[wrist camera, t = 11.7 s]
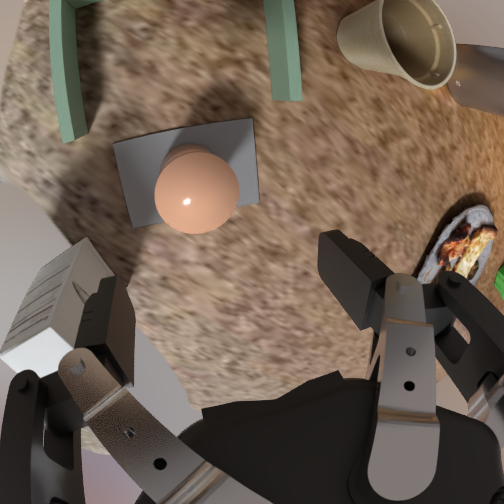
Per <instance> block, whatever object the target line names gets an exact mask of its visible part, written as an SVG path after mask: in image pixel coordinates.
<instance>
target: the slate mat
mask: <svg viewBox="0 0 504 504" xmlns="http://www.w3.org/2000/svg"><path fill="white" fill-rule="evenodd" d="M183 144H199V145H202V146H204V147H206V148H207V149H209V150H210V151H211V152H212V153H213V154H214V155H217V156H218V157H220V158H222V159H223V160H224V161H225V162H226V163H227V164H228V165H229V166H230V167H231V168H232V170H233V171H234V173H235V175H236V177H237V180H238V183H239V199H238V203H237V205H236V207H238V206H244V205H249V204H254V203H259V191H258V179H257V166H256V154H255V142H254V130H253V119H252V118H248V119H239V120H231V121H223V122H216V123H210V124H203V125H197V126H191V127H185V128H180V129H175V130H170V131H165V132H160V133H155V134H151V135H146V136H142V137H137V138H133V139H129V140H125V141H121V142H118V143H114V144H113V148H114V153H115V158H116V162H117V167H118V171H119V176H120V180H121V184H122V188H123V192H124V197H125V200H126V204H127V208H128V212H129V216H130V219H131V223H132V227H133V229H134V228H139V227H143V226H147V225H152V224H156V223H161V222H165V221H164V220H163V219H162V217H161V216H160V214H159V212H158V210H157V208H156V204H155V185H156V182H157V179H158V176H159V174H160V167H161V164H162V161H163V159H164V158H165V156H166V155H167V154H168V153H169V152H170V151H171V150H172V149H174V148H176V147H177V146H180V145H183Z"/></svg>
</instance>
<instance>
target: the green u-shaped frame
mask: <svg viewBox="0 0 504 504" xmlns="http://www.w3.org/2000/svg"><path fill="white" fill-rule="evenodd" d="M98 1H102V0H49V40H50V57H51V69H52V79H53V88H54V96H55V103H56V109H57V115H58V121H59V127H60V132H61V137H62V142H63V144H64V143H67V142H70V141H73V140H76V139H78V138H80V137H82V136H84V135H86V134H88V129H87V123H86V118H85V112H84V105H83V99H82V92H81V84H80V75H79V66H78V55H77V41H76V18H75V9H77V8H80V7H83V6H86V5H89V4H92V3H95V2H98ZM263 2H264V11H265V21H266V31H267V42H268V52H269V64H270V75H271V88H272V100H281V101H302V86H301V71H300V58H299V46H298V36H297V25H296V16H295V7H294V0H263Z"/></svg>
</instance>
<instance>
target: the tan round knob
mask: <svg viewBox="0 0 504 504" xmlns="http://www.w3.org/2000/svg"><path fill="white" fill-rule="evenodd" d="M238 199H239V183H238V180H237V177H236V175H235V173H234V171H233V170H232V168H231V167H230V166H229V165H228V164H227V163H226V162H225V161H224V160H223V159H222V158H220V157H218V156H217V155H214V154H213V153H212V152H211V151H210V150H209V149H207V148H206V147H204V146H202V145H199V144H183V145H180V146H177V147H176V148H174V149H172V150H171V151H170V152H169V153H168V154H167V155H166V156H165V158H164V159H163V161H162V164H161V167H160V174H159V176H158V179H157V182H156V185H155V204H156V208H157V210H158V212H159V214H160V216H161V217H162V219H163V220H164V221H165V222H166V223H167V224H168V225H169V226H171V227H172V228H174V229H176V230H178V231H181V232H184V233H190V234H199V233H205V232H208V231H211V230H214V229H215V228H217V227H219V226H220V225H222V224H223V223H224V222H225V221H227V219H228V218H229V217H230V216H231V215H232V213H233V212H234V210H235V208H236V205H237V203H238Z"/></svg>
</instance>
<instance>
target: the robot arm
mask: <svg viewBox="0 0 504 504" xmlns="http://www.w3.org/2000/svg"><path fill="white" fill-rule="evenodd" d="M447 85H448V88H449V91H450V93H451V95H452V97H453V98H454V100H455V101H456V102H457V103H458V104H460V105H462V106H466V107H470V108H474V109H477V110H481V111H484V112H488V113H491V114H495V115H498V116H501V117H504V48H498V47H490V46H481V45H469V44H456V64H455V68H454V71H453V74H452V76H451V77H450V79H449V80H448V81H447ZM318 272H319V275H320V277H321V279H322V280H323V282H324V283H325V284H326V285H327V287H328V288H329V289H330V291H331V292H332V293H333V295H334V296H335V297H336V299H337V300H338V301H339V303H340V304H341V305H342V307H343V308H344V309H345V311H346V312H347V313H348V315H349V316H350V317H351V319H352V320H353V321H354V323H355V324H356V325H357V327H358V328H359V329H360V331H361V330H364V329H366V328H369V327H372V329H373V333H372V338H371V346H370V353H369V359H368V366H367V372H366V376H365V379H361V378H345V379H343V377H342V376H341V374H340V372H339V370H337V371H335V372H332V373H329V374H326V375H324V376H321V377H318V378H315V379H312V380H309V381H307V382H305V383H303V384H302V385H300V386H298V387H297V388H295V389H293V390H292V391H290V392H288V393H286V394H285V395H283V396H281V397H279V398H277V399H274V400H260V401H236V402H231V403H227V404H222V405H218V406H213V407H208V408H203V409H201V410H202V415H203V419H201V420H199V421H197V422H195V423H193V424H192V425H190V426H189V427H187V428H186V429H185V430H184V431H182V432H181V433H180V434H179V435H178V436H177V437H176V436H175V435H174V434H172V433H171V432H170V431H169V430H168V429H167V428H166V427H164V425H162V424H161V423H160V422H159V421H158V420H157V419H156V418H155V417H154V416H152V414H151V413H150V412H149V411H148V410H146V409H145V408H144V407H143V406H142V405H141V404H140V403H139V402H138V401H137V400H136V399H135V398H134V397H133V396H132V395H131V394H130V392H129V391H128V390H127V389H126V388H130V387H134V346H135V343H134V342H135V323H136V318H135V312H134V308H133V305H132V302H131V300H130V298H129V295H128V293H127V290H126V288H125V285H124V283H123V280H122V278H121V276H120V275H115V276H110V277H105V278H102V279H101V280H100V283H99V287H98V291H97V293H92V294H91V295H90V297H89V298H88V300H87V301H86V302H85V305H84V308H83V312H82V313H83V314H82V316H81V320H80V321H81V322H80V324H79V328H78V332H77V336H76V341H75V345H74V349H73V350H71V351H69V352H68V353H67V354H65V355H64V356H63V358H62V359H61V361H60V362H59V365H58V370H57V371H55V372H53V373H51V374H48V375H46V376H44V377H41V378H40V377H39V376H38V375H37V373H36V372H35V371H33V370H30V369H27V370H23V371H21V372H19V373H18V374H17V375H16V376H15V377H14V378H13V379H12V381H11V383H10V386H9V391H8V395H7V400H6V405H5V411H4V417H3V423H2V431H1V438H0V504H85V496H84V487H83V475H82V459H81V428H83V427H86V426H89V427H90V429H91V430H92V431H93V433H94V434H95V435H96V437H97V438H98V439H99V441H100V442H101V443H102V445H103V446H104V447H105V448H106V450H107V451H108V452H109V453H110V454H111V456H112V457H113V458H114V459H115V460H116V461H117V463H118V464H119V465H120V466H121V467H122V468H123V470H124V471H125V472H126V473H127V474H128V475H129V476H130V477H131V478H132V479H133V480H134V481H135V483H136V484H137V485H138V486H139V487H140V488H141V489H142V490H143V491H142V492H141V494H140V496H139V497H138V499H137V500H136V502H135V504H504V473H503V469H502V461H501V450H500V449H501V448H502V447H503V446H504V316H503V314H501V312H500V311H499V310H498V309H497V308H496V307H495V306H494V305H493V304H492V303H491V302H490V301H489V300H488V299H487V298H486V297H485V296H484V295H483V294H482V293H481V292H480V291H479V290H478V289H477V288H476V287H475V286H474V285H472V284H471V283H470V282H469V281H468V280H467V279H466V278H465V277H464V276H463V275H461V274H459V273H457V272H454V271H443V272H441V273H440V274H439V275H438V278H437V281H436V283H430V284H421V283H420V282H419V281H418V280H417V279H416V278H415V277H413V276H411V275H408V274H403V273H396V274H395V273H394V272H393V271H391V270H390V269H389V268H388V267H387V266H386V265H385V264H384V263H383V262H382V261H381V260H380V259H379V258H377V257H375V255H374V254H373V253H372V252H371V251H369V249H368V248H366V247H365V246H364V245H363V244H362V243H360V242H358V241H356V240H354V239H351V238H350V239H349V238H348V237H346V236H345V235H344V234H343V233H342V232H341V231H340V230H338V229H336V230H331V231H326V232H322V233H320V235H319V243H318ZM456 318H458V319H459V320H460V321H461V323H462V324H463V325H464V326H465V327H466V328H467V329H468V331H469V333H470V337H471V339H470V343H469V345H468V343H467V342H466V341H465V340H464V338H463V337H462V336H461V335H460V334H459V333H458V331H457V330H456V329H455V328H454V327H453V325H454V322H455V320H456ZM435 357H436V358H437V360H438V361H439V363H440V364H441V365H442V367H443V368H444V369H445V371H446V372H447V374H448V375H449V376H450V378H451V379H452V381H453V382H454V384H455V385H456V387H457V388H458V389H459V391H460V392H461V394H462V395H463V397H464V398H465V400H466V401H467V403H468V411H469V414H468V415H467V416H465V415H462V414H459V413H456V412H454V411H451V410H448V409H445V408H442V407H440V406H436V361H435ZM44 429H45V433H44V448H43V430H44Z"/></svg>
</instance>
